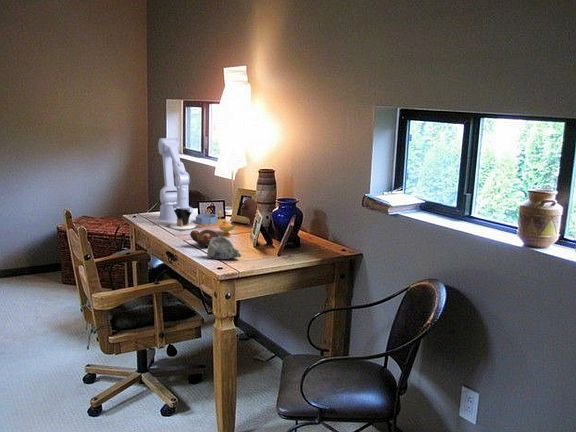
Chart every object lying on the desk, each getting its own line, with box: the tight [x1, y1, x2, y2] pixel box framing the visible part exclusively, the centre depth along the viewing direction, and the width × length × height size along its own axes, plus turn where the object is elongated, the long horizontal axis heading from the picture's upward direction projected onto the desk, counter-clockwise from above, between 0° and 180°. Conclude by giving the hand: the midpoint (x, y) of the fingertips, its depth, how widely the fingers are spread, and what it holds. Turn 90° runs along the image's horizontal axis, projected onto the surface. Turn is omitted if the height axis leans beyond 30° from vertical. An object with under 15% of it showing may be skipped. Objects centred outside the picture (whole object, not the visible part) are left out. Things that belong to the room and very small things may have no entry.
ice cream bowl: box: [240, 197, 257, 228], centre depth 302 cm, size 11×11×15 cm
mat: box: [163, 224, 204, 232], centre depth 296 cm, size 15×14×1 cm
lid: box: [169, 218, 196, 231], centre depth 295 cm, size 13×13×4 cm
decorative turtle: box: [189, 229, 220, 249], centre depth 260 cm, size 10×15×8 cm, turn 111°
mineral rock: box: [207, 235, 242, 260], centre depth 241 cm, size 13×11×10 cm
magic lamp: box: [218, 210, 239, 237], centre depth 282 cm, size 7×18×11 cm, turn 36°
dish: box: [195, 213, 219, 226], centre depth 307 cm, size 11×11×4 cm
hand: (183, 223), depth 295 cm, fingers closed on lid, 3 cm apart
